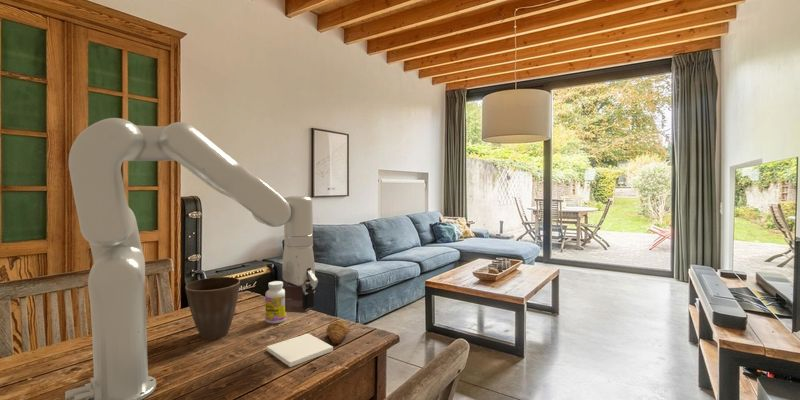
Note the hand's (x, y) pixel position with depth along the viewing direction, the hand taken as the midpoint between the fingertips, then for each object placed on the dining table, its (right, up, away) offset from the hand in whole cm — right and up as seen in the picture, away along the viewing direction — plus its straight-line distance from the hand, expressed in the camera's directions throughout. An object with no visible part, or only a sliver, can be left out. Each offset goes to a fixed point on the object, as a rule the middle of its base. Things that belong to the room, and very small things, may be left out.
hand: (299, 303), depth 105 cm
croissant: (+9, -13, +10) cm, 19 cm away
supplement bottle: (-14, -12, +23) cm, 30 cm away
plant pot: (-29, -13, +11) cm, 34 cm away
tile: (0, -13, +1) cm, 13 cm away
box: (0, -2, 0) cm, 2 cm away
